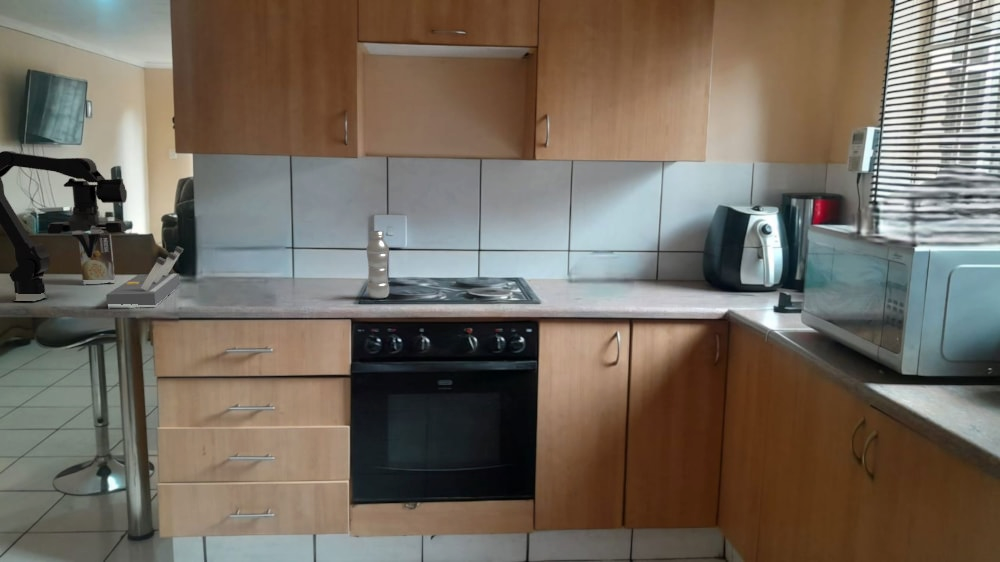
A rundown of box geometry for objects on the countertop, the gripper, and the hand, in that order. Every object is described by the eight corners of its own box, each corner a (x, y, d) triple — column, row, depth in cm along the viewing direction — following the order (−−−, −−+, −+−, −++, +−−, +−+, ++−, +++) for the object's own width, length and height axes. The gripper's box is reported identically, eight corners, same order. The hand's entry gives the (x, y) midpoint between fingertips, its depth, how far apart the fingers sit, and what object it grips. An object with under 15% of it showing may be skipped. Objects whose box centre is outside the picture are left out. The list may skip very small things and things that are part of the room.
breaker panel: (107, 309, 194) (106, 293, 194) (139, 287, 228) (138, 273, 227) (155, 307, 197) (154, 292, 196) (179, 286, 231) (179, 272, 230)
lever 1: (139, 287, 198) (157, 257, 198) (142, 285, 201) (160, 256, 201) (146, 291, 199) (164, 261, 199) (149, 289, 202) (166, 260, 201)
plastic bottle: (369, 296, 217) (367, 230, 214) (391, 296, 217) (390, 230, 214) (364, 300, 211) (363, 232, 207) (387, 300, 210) (386, 232, 207)
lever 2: (160, 273, 223) (176, 247, 223) (162, 272, 226) (177, 246, 226) (166, 276, 224) (182, 250, 224) (168, 275, 226) (183, 249, 226)
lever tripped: (150, 279, 211) (169, 253, 211) (152, 278, 213) (171, 251, 213) (156, 283, 211) (175, 256, 211) (159, 282, 214) (177, 255, 214)
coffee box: (116, 281, 239) (112, 232, 236) (114, 284, 233) (110, 234, 231) (84, 282, 235) (80, 233, 233) (82, 285, 230) (77, 235, 227)
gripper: (37, 204, 194) (43, 262, 196) (113, 204, 198) (118, 260, 201) (52, 202, 204) (57, 257, 207) (124, 202, 209) (128, 255, 211)
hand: (90, 257), depth 206 cm, fingers closed
